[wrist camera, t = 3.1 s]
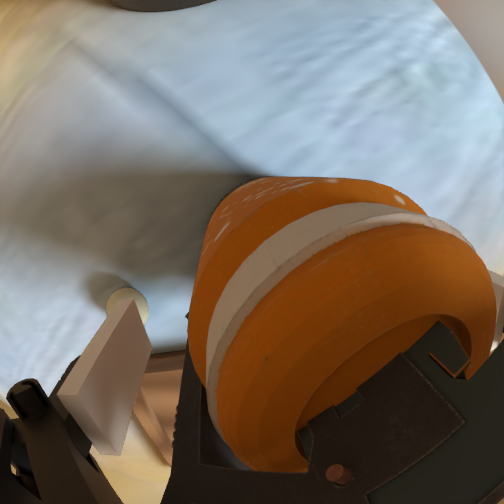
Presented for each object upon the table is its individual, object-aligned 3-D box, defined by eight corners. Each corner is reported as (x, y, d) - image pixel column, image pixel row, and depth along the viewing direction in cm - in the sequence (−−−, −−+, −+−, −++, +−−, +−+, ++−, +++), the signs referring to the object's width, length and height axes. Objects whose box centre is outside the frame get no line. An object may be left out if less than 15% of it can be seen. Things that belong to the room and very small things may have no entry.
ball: (108, 284, 20) (93, 302, 17) (146, 277, 20) (134, 294, 17) (121, 321, 21) (109, 342, 17) (158, 316, 21) (149, 337, 18)
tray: (121, 357, 21) (113, 376, 19) (308, 325, 22) (318, 342, 20) (185, 467, 26) (184, 484, 24) (316, 446, 27) (322, 462, 25)
